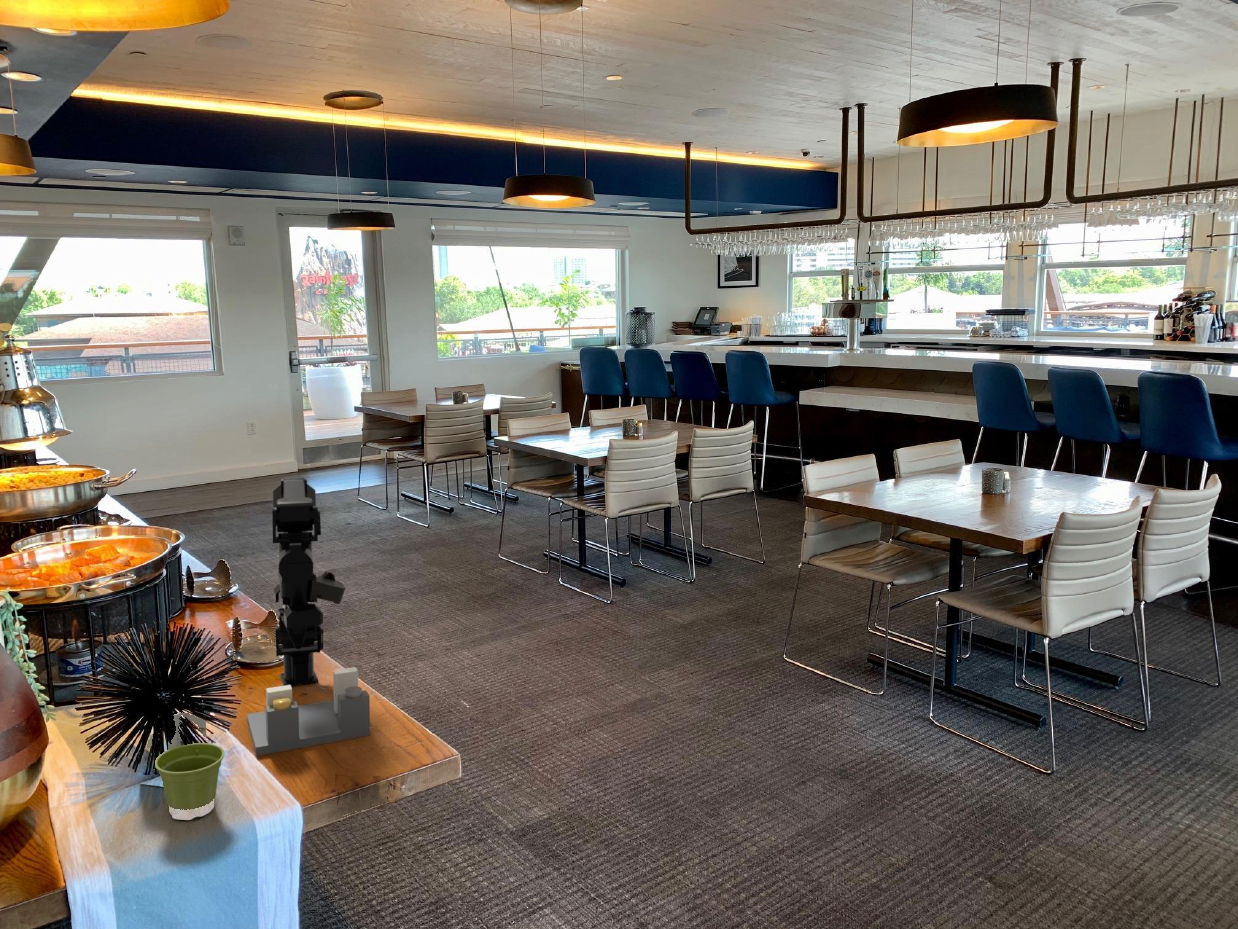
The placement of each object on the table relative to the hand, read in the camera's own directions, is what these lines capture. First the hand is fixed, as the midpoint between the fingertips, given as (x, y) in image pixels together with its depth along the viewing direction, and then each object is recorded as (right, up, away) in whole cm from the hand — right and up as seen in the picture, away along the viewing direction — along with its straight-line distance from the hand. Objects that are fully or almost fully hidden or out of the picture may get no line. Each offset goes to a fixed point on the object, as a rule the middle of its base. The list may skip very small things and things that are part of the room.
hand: (298, 648), depth 171 cm
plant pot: (-4, -18, -33) cm, 38 cm away
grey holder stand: (+4, -13, -6) cm, 15 cm away
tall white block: (+1, -12, -11) cm, 16 cm away
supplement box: (-12, -16, -24) cm, 31 cm away
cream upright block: (+10, -11, -2) cm, 15 cm away
